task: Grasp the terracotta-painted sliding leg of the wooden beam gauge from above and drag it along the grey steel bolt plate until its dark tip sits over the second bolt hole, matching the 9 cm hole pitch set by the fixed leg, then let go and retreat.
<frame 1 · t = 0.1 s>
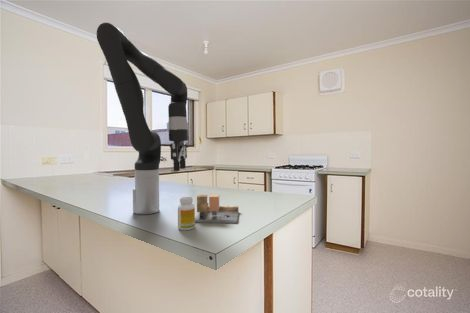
hand: (180, 169, 94), 17 cm above the countertop, tool pointing down, fingers open, 8 cm apart
bolt plate: (217, 218, 87), on the countertop
supplement bottle: (186, 228, 77), on the countertop
gauge rule: (219, 212, 94), on the countertop
sliding leg: (214, 205, 86), point 5 cm above the countertop, slide at 0.0 cm
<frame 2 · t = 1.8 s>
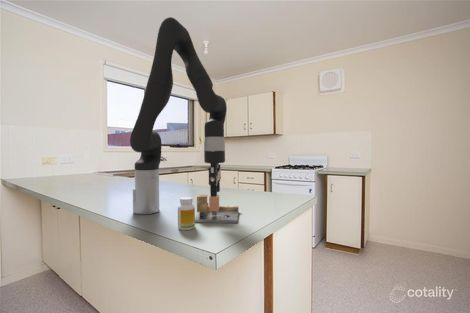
hand: (215, 194, 86), 9 cm above the countertop, tool pointing down, fingers open, 8 cm apart
nothing on the countertop moved.
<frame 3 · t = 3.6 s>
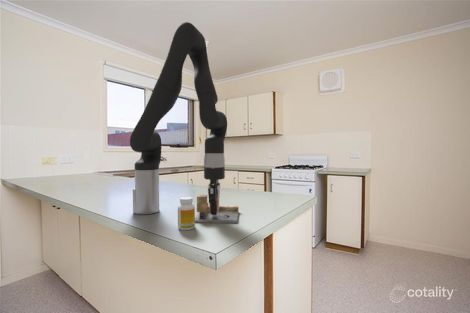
hand: (214, 212, 86), 2 cm above the countertop, tool pointing down, fingers closed on sliding leg, 3 cm apart
sliding leg: (214, 205, 86), point 5 cm above the countertop, slide at 0.0 cm, touching gripper
everything else where it was.
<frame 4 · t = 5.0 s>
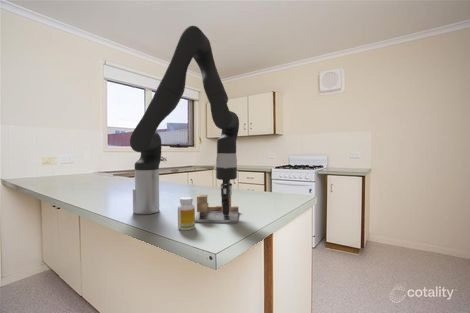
hand: (226, 212, 86), 2 cm above the countertop, tool pointing down, fingers closed on sliding leg, 3 cm apart
sliding leg: (226, 205, 86), point 5 cm above the countertop, slide at 4.4 cm, touching gripper
everything else where it was.
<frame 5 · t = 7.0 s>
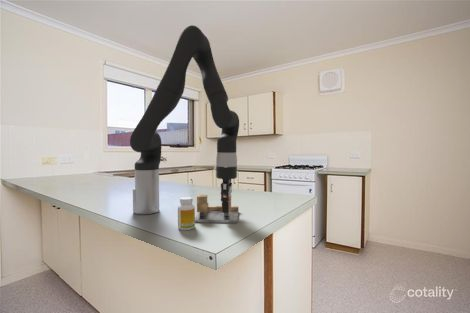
hand: (226, 209, 86), 4 cm above the countertop, tool pointing down, fingers open, 8 cm apart
sliding leg: (226, 205, 86), point 5 cm above the countertop, slide at 4.5 cm
everything else where it was.
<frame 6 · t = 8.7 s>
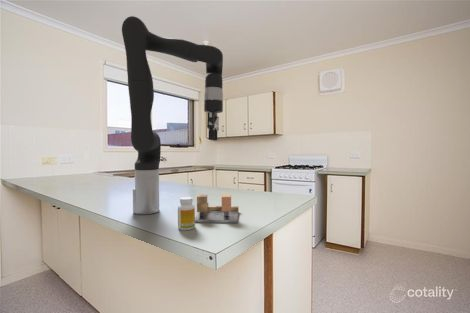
hand: (213, 140, 96), 29 cm above the countertop, tool pointing down, fingers open, 8 cm apart
nothing on the countertop moved.
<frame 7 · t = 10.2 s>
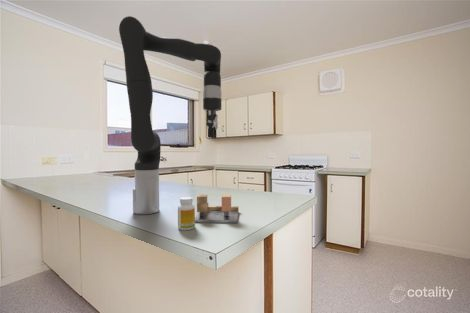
hand: (212, 137, 97), 30 cm above the countertop, tool pointing down, fingers open, 8 cm apart
nothing on the countertop moved.
at the end: sliding leg slide at 4.5 cm; the gripper is holding nothing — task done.
